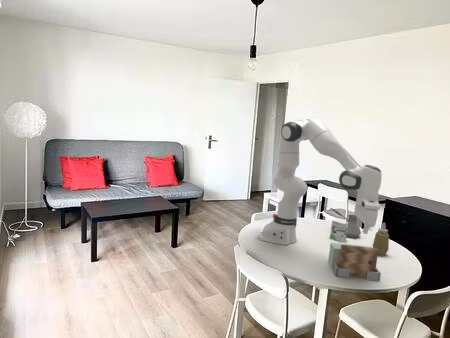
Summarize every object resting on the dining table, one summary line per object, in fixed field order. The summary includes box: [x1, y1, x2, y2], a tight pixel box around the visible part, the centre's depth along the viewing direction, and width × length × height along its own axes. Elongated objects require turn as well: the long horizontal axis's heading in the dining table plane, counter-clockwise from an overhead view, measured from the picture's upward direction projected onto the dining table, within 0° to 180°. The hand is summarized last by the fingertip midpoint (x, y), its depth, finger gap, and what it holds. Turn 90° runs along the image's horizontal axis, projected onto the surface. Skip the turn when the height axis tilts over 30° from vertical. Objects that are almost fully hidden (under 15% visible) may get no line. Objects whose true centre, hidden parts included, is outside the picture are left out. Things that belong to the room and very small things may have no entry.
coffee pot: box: [329, 207, 362, 239], centre depth 212 cm, size 21×12×15 cm, turn 50°
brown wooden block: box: [338, 245, 379, 279], centre depth 155 cm, size 16×4×14 cm, turn 84°
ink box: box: [329, 218, 348, 243], centre depth 202 cm, size 9×5×12 cm, turn 48°
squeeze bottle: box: [372, 222, 390, 257], centre depth 182 cm, size 8×8×18 cm
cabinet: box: [327, 242, 382, 282], centre depth 161 cm, size 17×20×10 cm
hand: (361, 229), depth 153 cm, fingers open, 8 cm apart
